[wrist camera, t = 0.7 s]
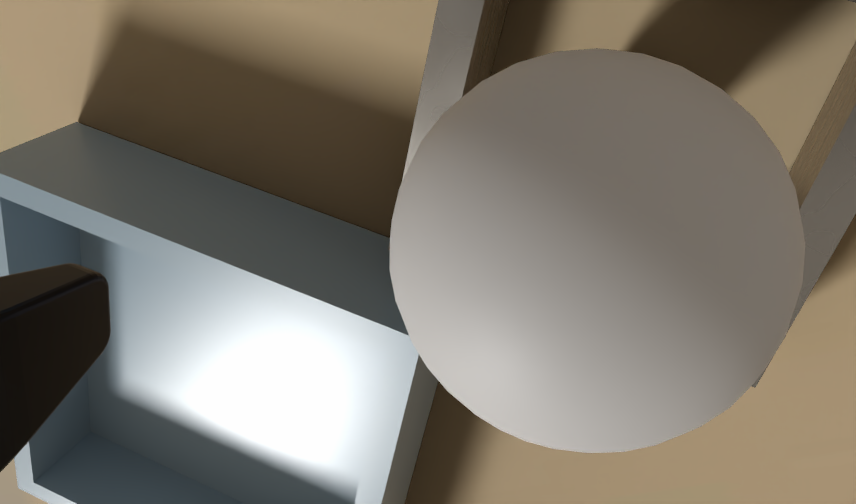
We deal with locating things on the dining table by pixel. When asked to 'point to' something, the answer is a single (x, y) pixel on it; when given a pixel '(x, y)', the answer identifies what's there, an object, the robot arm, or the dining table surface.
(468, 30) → the socket collar
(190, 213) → the parts tray
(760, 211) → the lightbulb
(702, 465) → the dining table surface
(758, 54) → the dining table surface
